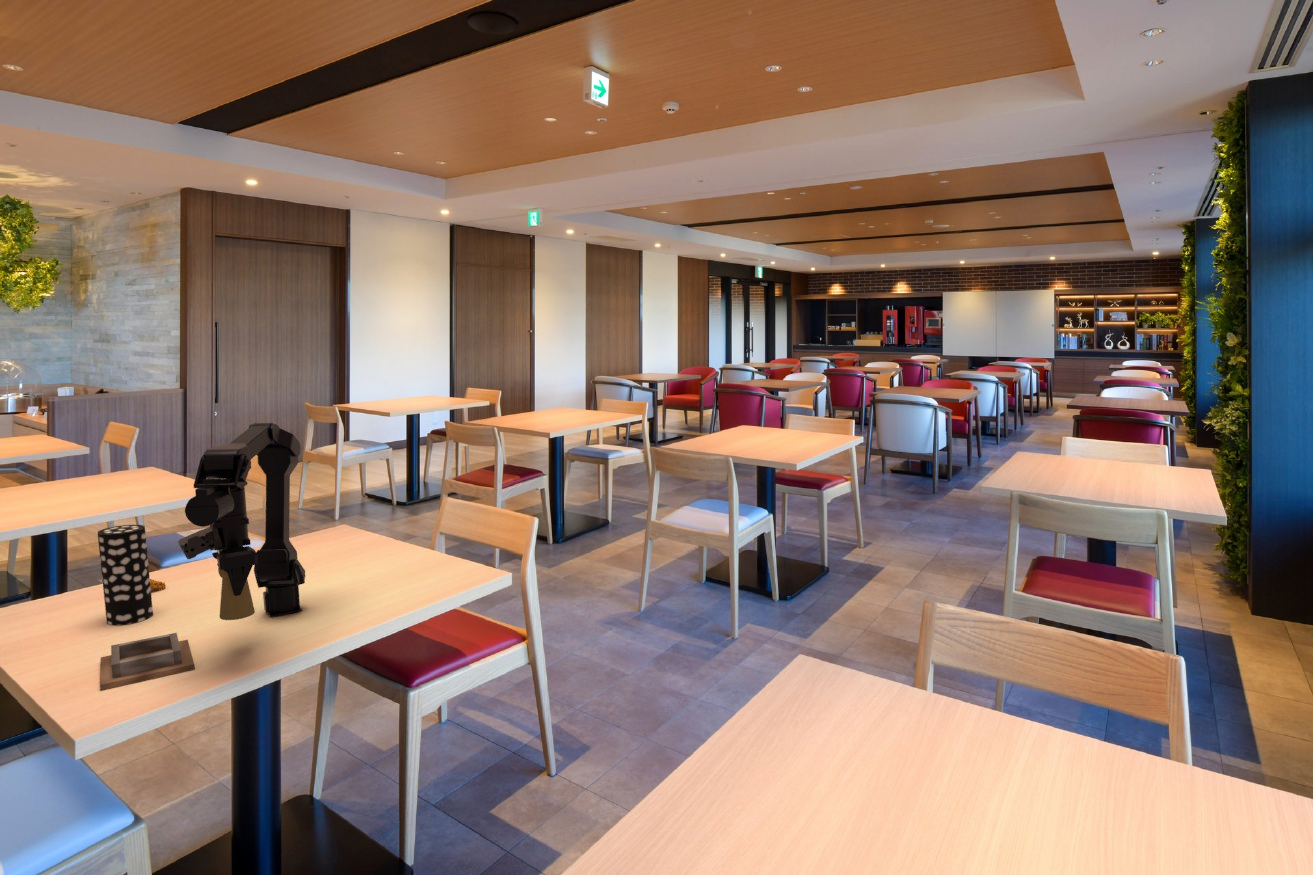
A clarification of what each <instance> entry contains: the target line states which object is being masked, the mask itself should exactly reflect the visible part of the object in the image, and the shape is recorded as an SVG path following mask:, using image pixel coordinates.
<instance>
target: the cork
mask: <svg viewBox="0 0 1313 875" xmlns="http://www.w3.org/2000/svg"><path fill="white" fill-rule="evenodd" d="M217 567H218V566H217ZM217 572H218V575H219V577H220V578H221V589H220V590H221V591H220V606H219V619H220V620H223V621H233V620H234V621H237V620H242V619H245V618H249V617H251V616H253V615H254V614H255V613H256V610H255V607H254V602H253V598H252V593H251V588H250V585H249V580H248V579H247V580H246V583H245V585H244V588H243V590H242V593H241V595H238V596H234V594H233V590H232V587H231V584H230V581H229V577H228V574H227V572H226V571H224V570H220V569H219V567H218V570H217Z"/></svg>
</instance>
